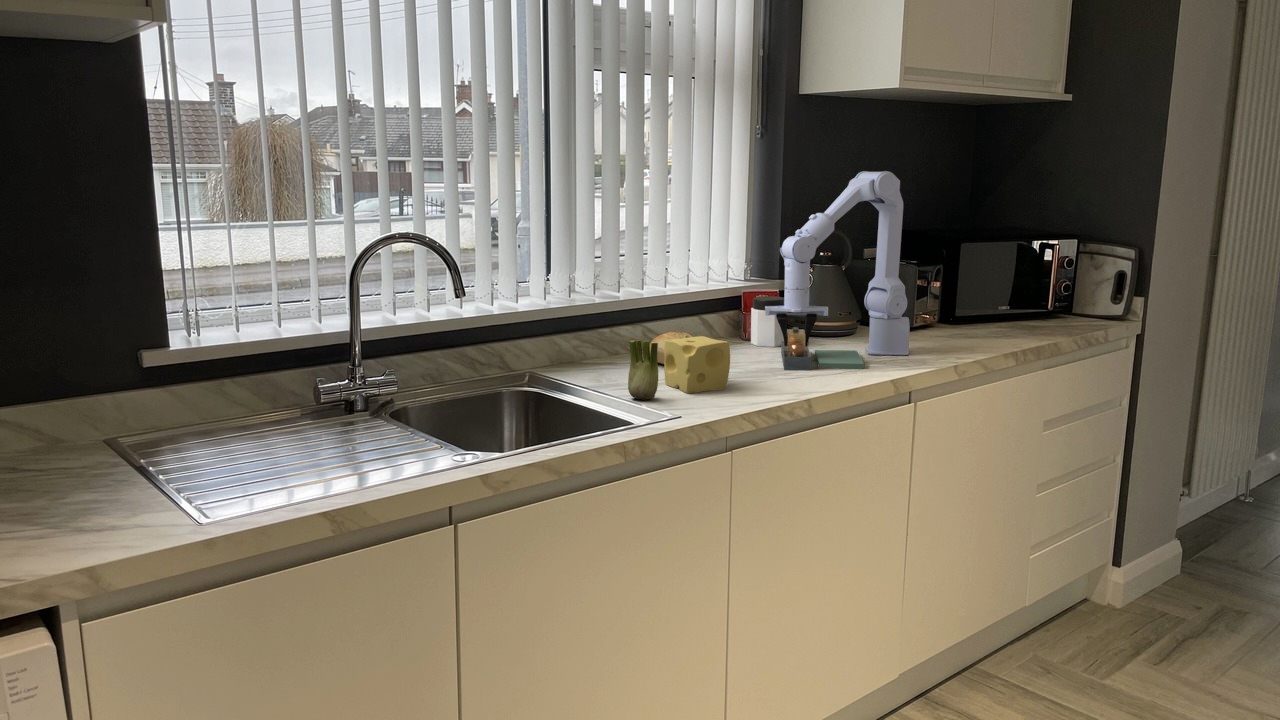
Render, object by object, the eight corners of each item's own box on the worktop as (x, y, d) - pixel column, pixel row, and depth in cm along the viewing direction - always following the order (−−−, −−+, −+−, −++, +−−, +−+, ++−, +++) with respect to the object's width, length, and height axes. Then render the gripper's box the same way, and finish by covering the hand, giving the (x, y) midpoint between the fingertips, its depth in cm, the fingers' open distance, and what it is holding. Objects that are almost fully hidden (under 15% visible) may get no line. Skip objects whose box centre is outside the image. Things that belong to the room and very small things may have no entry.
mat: (856, 355, 236) (856, 350, 236) (863, 368, 221) (864, 363, 221) (814, 354, 238) (814, 350, 237) (819, 368, 222) (819, 363, 222)
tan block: (786, 345, 233) (786, 326, 232) (803, 346, 233) (803, 327, 232) (787, 351, 227) (788, 331, 226) (805, 351, 226) (805, 331, 225)
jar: (769, 348, 246) (770, 301, 244) (744, 344, 252) (745, 298, 250) (791, 343, 252) (792, 297, 250) (766, 340, 258) (767, 295, 256)
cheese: (687, 394, 198) (687, 346, 196) (662, 384, 208) (661, 338, 206) (730, 388, 203) (731, 341, 201) (703, 379, 212) (703, 334, 211)
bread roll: (668, 359, 235) (668, 326, 234) (712, 368, 224) (712, 333, 222) (638, 364, 229) (637, 330, 227) (681, 374, 218) (681, 339, 216)
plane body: (781, 353, 240) (781, 329, 239) (805, 353, 240) (806, 329, 239) (784, 369, 221) (784, 343, 220) (810, 370, 220) (811, 343, 219)
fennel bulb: (661, 399, 194) (661, 340, 192) (643, 403, 191) (642, 343, 189) (642, 394, 199) (641, 336, 196) (623, 398, 195) (622, 339, 193)
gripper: (765, 290, 224) (765, 348, 226) (829, 290, 222) (828, 349, 225) (765, 286, 231) (764, 343, 233) (827, 286, 229) (826, 343, 232)
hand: (795, 345), depth 230 cm, fingers closed on tan block, 4 cm apart
